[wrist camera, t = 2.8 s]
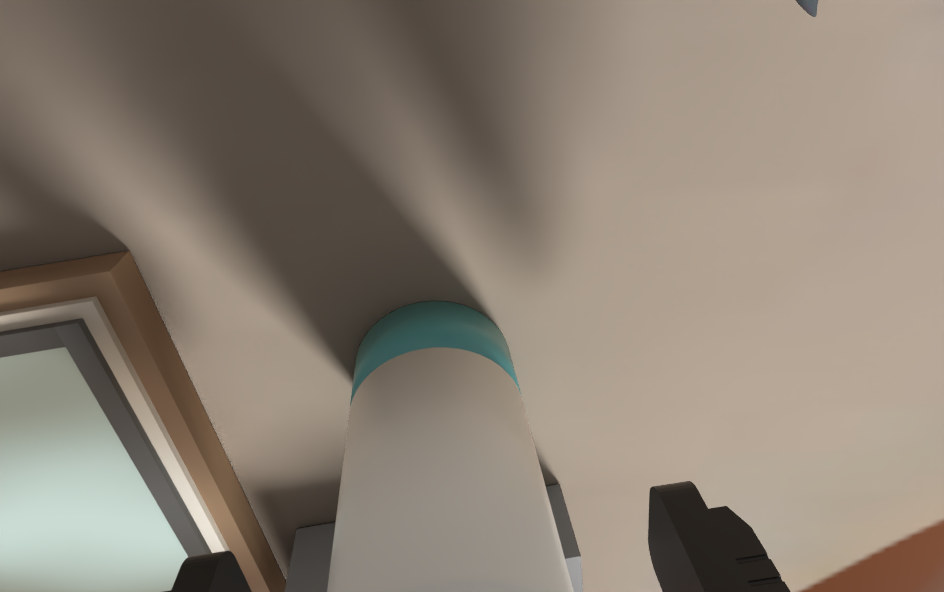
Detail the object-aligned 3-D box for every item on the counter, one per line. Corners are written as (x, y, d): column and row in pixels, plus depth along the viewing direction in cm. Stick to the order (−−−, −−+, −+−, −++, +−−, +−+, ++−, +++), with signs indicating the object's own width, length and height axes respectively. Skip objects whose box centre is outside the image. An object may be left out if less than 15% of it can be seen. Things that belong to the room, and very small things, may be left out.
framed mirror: (-377, 333, 13) (-460, 372, 12) (129, 250, 13) (101, 280, 12) (51, 749, 22) (31, 795, 21) (341, 698, 22) (337, 741, 21)
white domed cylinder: (338, 315, 14) (282, 608, 8) (501, 288, 14) (581, 556, 8) (374, 438, 16) (352, 753, 10) (517, 413, 16) (591, 710, 10)
